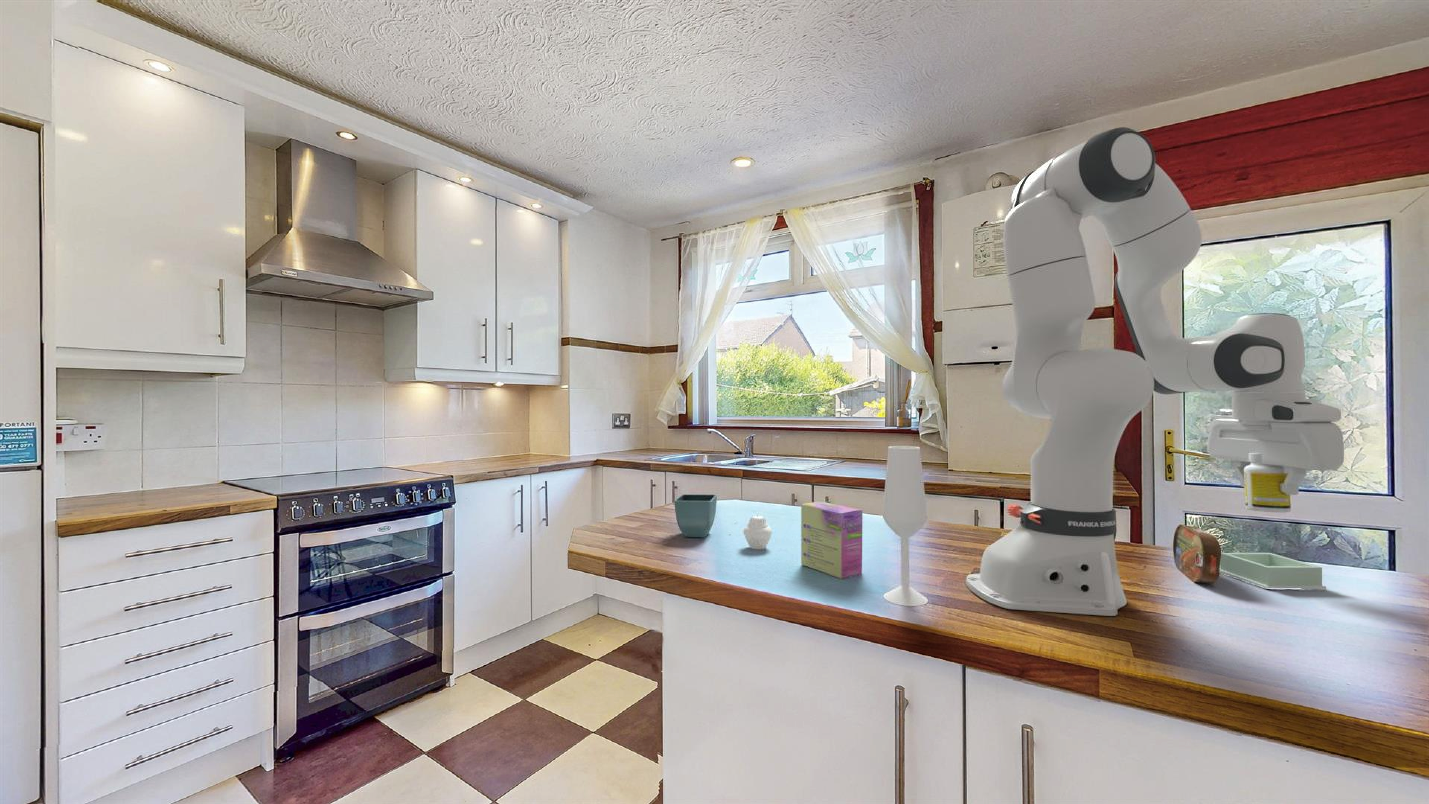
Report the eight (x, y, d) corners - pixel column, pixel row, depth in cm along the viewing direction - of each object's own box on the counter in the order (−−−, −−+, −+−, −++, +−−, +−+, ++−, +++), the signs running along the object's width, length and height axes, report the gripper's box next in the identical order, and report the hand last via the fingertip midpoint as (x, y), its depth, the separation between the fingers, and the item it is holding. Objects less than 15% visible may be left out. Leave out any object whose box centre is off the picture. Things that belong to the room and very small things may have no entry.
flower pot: (673, 539, 125) (673, 500, 125) (682, 530, 134) (681, 493, 134) (711, 540, 124) (711, 501, 124) (717, 531, 133) (717, 494, 133)
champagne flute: (884, 588, 91) (883, 445, 91) (928, 593, 89) (926, 445, 89) (881, 603, 85) (880, 448, 85) (928, 608, 82) (926, 449, 82)
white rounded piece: (757, 542, 122) (756, 511, 122) (778, 547, 117) (777, 515, 117) (737, 547, 118) (737, 515, 118) (758, 553, 113) (758, 519, 113)
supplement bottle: (1300, 513, 90) (1296, 453, 90) (1261, 512, 91) (1257, 453, 91) (1274, 509, 95) (1270, 452, 96) (1237, 508, 96) (1234, 452, 97)
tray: (1267, 590, 89) (1267, 568, 89) (1217, 572, 98) (1217, 552, 98) (1326, 590, 88) (1325, 568, 88) (1270, 572, 98) (1270, 552, 98)
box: (863, 573, 99) (862, 508, 99) (841, 579, 96) (841, 512, 96) (822, 560, 108) (821, 500, 108) (800, 565, 105) (800, 503, 105)
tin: (1171, 564, 103) (1170, 519, 103) (1192, 566, 102) (1192, 521, 102) (1200, 589, 90) (1199, 537, 90) (1225, 591, 89) (1224, 539, 89)
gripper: (1196, 408, 104) (1197, 481, 104) (1310, 411, 83) (1311, 501, 83) (1230, 408, 103) (1231, 481, 103) (1353, 410, 83) (1354, 501, 83)
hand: (1268, 490), depth 93 cm, fingers closed on supplement bottle, 5 cm apart
